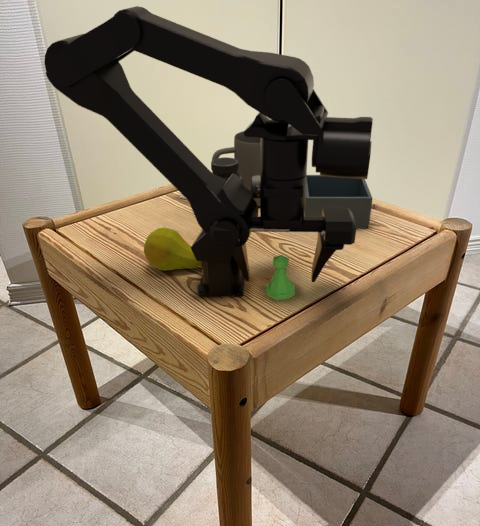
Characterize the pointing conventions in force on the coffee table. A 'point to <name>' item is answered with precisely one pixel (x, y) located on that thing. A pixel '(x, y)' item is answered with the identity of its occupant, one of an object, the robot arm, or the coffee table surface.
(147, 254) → the fruit
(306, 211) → the bin
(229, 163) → the pill bottle
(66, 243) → the coffee table surface
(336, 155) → the robot arm
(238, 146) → the mug
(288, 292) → the game piece
